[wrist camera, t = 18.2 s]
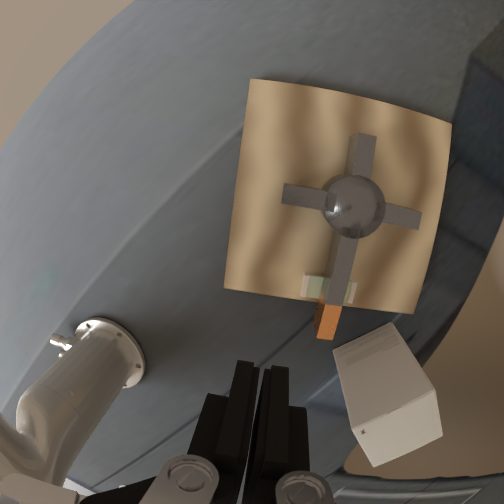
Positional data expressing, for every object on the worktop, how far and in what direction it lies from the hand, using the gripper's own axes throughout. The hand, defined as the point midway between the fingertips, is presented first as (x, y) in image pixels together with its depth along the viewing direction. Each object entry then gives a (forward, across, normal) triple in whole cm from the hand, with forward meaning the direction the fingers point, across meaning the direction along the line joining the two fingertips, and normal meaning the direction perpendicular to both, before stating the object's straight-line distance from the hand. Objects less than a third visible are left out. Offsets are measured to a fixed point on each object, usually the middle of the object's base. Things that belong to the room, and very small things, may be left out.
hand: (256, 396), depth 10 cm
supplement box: (+27, -16, +15) cm, 35 cm away
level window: (+26, -7, +5) cm, 27 cm away
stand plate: (+27, -7, -5) cm, 28 cm away
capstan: (+25, -7, -2) cm, 26 cm away
